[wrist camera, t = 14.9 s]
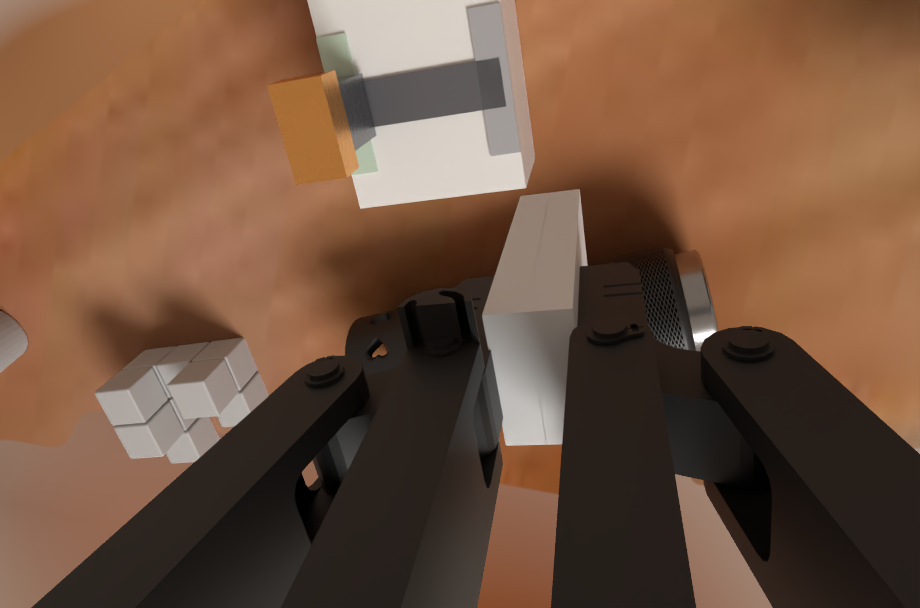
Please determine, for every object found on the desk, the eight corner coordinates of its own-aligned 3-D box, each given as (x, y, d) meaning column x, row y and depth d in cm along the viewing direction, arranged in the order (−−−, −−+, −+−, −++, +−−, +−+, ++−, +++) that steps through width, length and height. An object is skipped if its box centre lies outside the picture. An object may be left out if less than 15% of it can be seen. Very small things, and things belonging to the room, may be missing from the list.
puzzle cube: (190, 440, 72) (147, 491, 65) (144, 349, 67) (92, 392, 60) (285, 433, 69) (251, 485, 62) (245, 336, 64) (202, 380, 57)
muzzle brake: (369, 292, 59) (329, 350, 50) (687, 217, 50) (708, 271, 41) (405, 378, 62) (374, 447, 53) (707, 322, 54) (730, 392, 45)
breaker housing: (509, -42, 44) (493, -45, 37) (535, 158, 50) (525, 188, 43) (348, -8, 47) (304, -4, 40) (390, 177, 53) (359, 209, 46)
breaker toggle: (364, 58, 41) (320, 75, 34) (384, 146, 43) (347, 177, 37) (318, 67, 42) (266, 85, 35) (341, 152, 44) (296, 184, 37)
